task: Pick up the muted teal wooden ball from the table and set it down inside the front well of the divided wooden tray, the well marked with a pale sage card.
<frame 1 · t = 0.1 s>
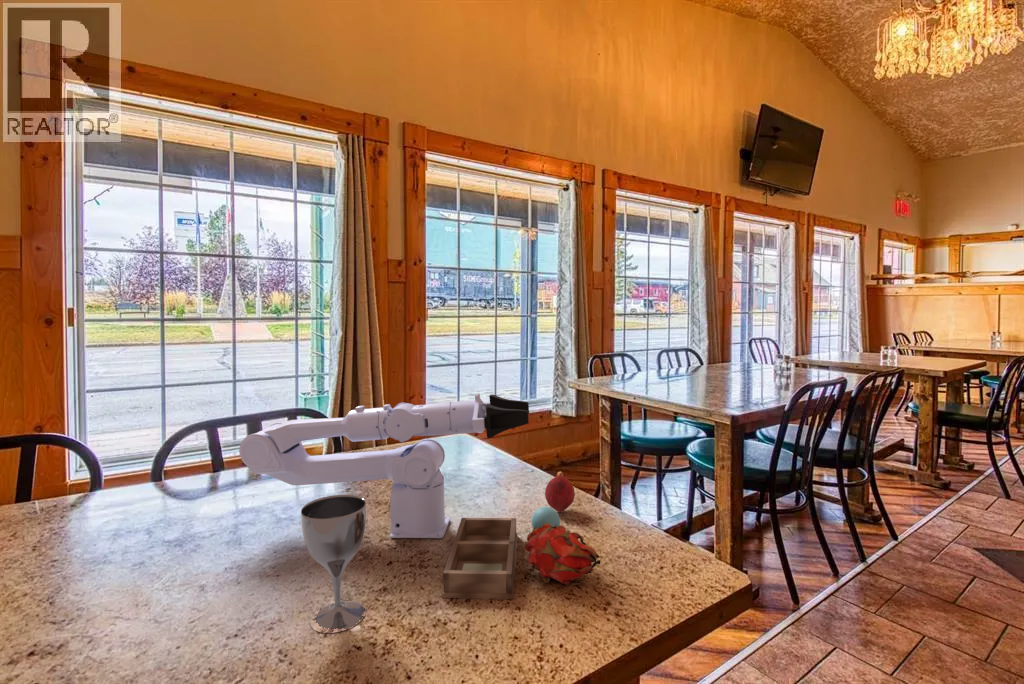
hand: (528, 412, 90), 22 cm above the table, tool horizontal, fingers open, 7 cm apart
dragon fruit: (560, 578, 76), on the table
ball: (545, 521, 90), point 2 cm above the table
divided wooden tray: (484, 563, 80), on the table
wine glass: (338, 617, 67), on the table
onion: (559, 513, 100), on the table
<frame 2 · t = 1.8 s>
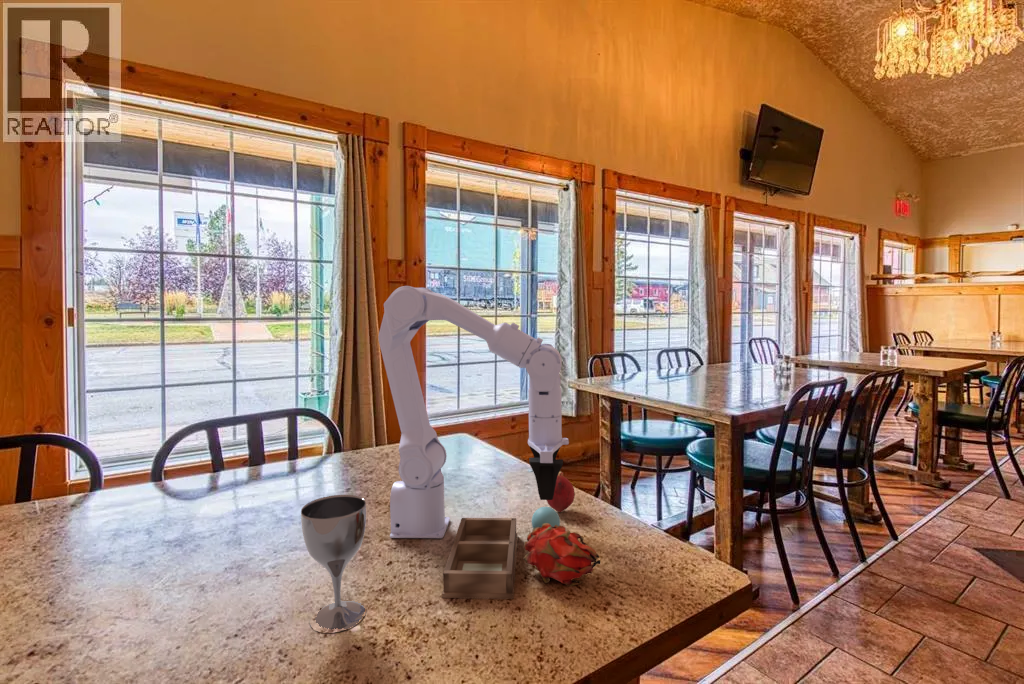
hand: (545, 490, 89), 8 cm above the table, tool pointing down, fingers open, 7 cm apart
nothing on the table moved.
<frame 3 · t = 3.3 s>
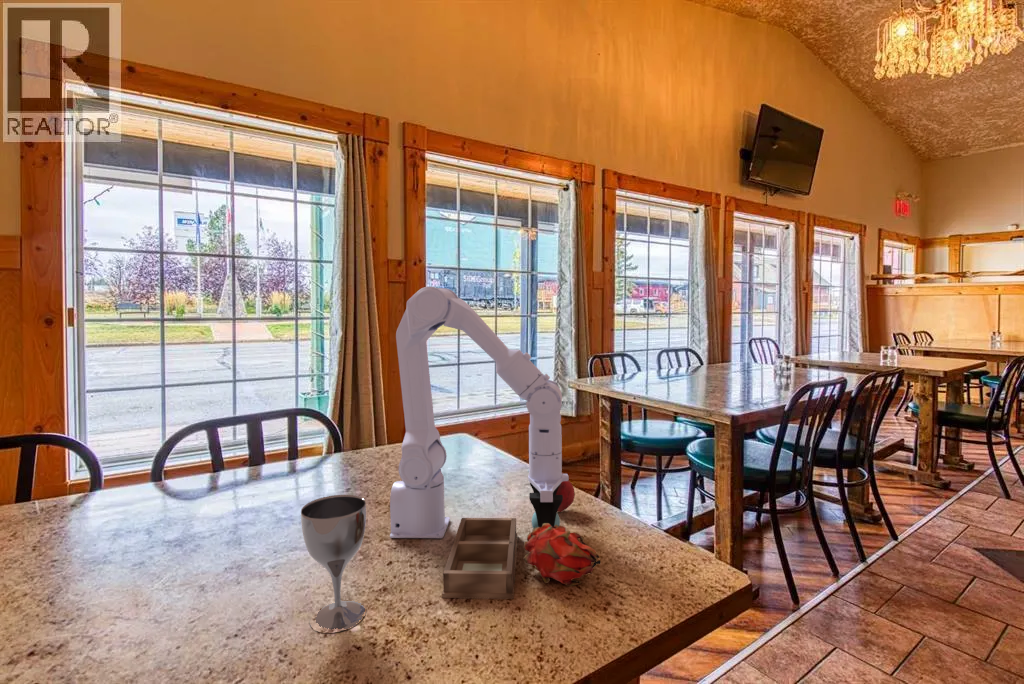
hand: (545, 526, 90), 2 cm above the table, tool pointing down, fingers closed on ball, 5 cm apart
ball: (545, 521, 90), point 2 cm above the table, touching gripper
everything else where it was.
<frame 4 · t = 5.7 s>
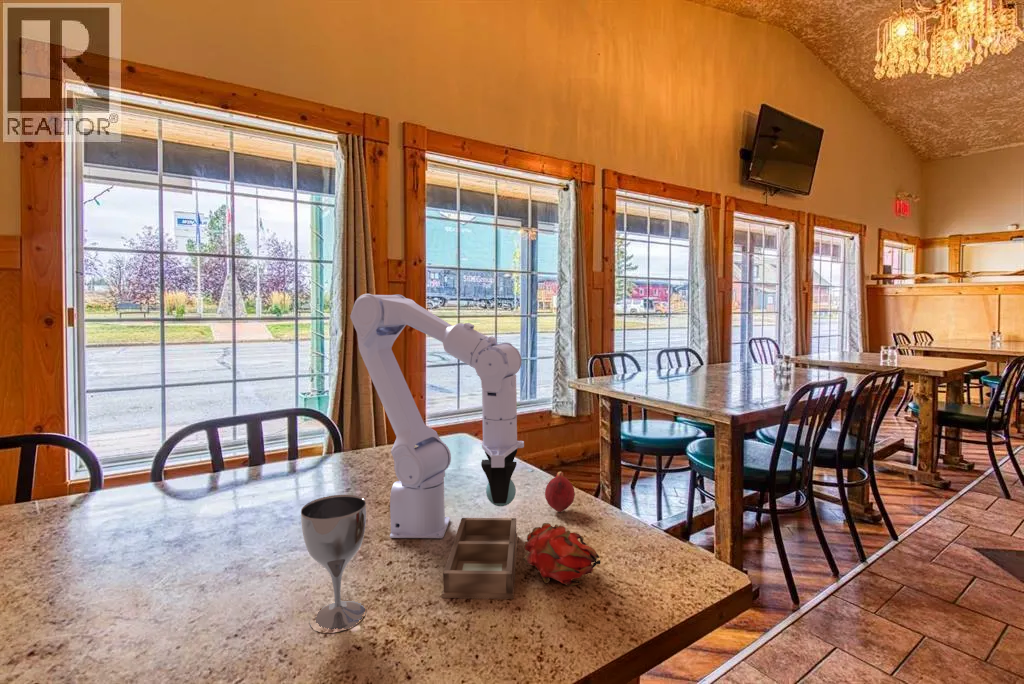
hand: (500, 496, 85), 9 cm above the table, tool pointing down, fingers closed on ball, 5 cm apart
ball: (500, 490, 85), point 10 cm above the table, touching gripper
everything else where it was.
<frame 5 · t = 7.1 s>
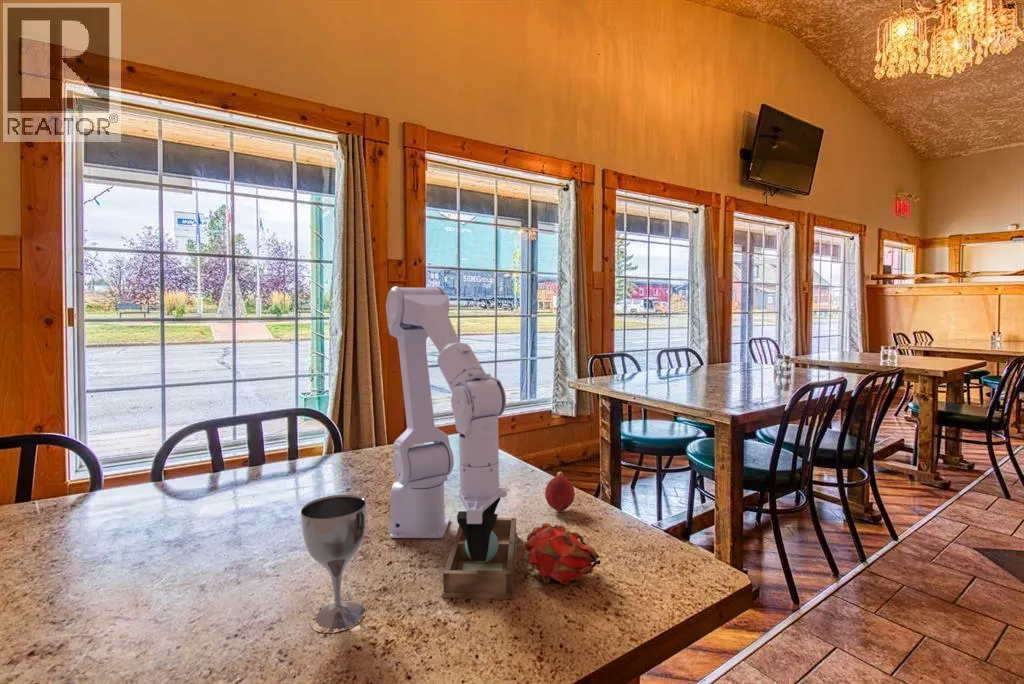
hand: (480, 550, 75), 4 cm above the table, tool pointing down, fingers closed on ball, 5 cm apart
ball: (481, 544, 75), point 5 cm above the table, touching gripper
everything else where it was.
when the fingers open (4 cm above the table, at t = 8.1 s): ball drops 2 cm, resting on divided wooden tray.
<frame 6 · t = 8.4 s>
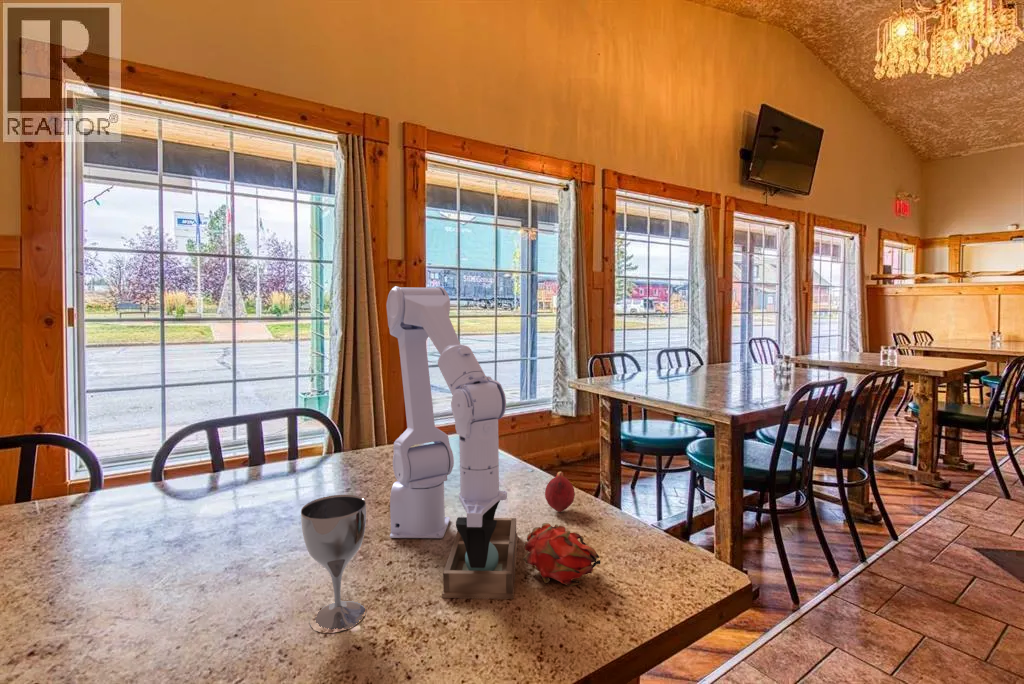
hand: (480, 553, 75), 4 cm above the table, tool pointing down, fingers open, 7 cm apart
ball: (481, 557, 76), point 3 cm above the table, touching divided wooden tray
everything else where it was.
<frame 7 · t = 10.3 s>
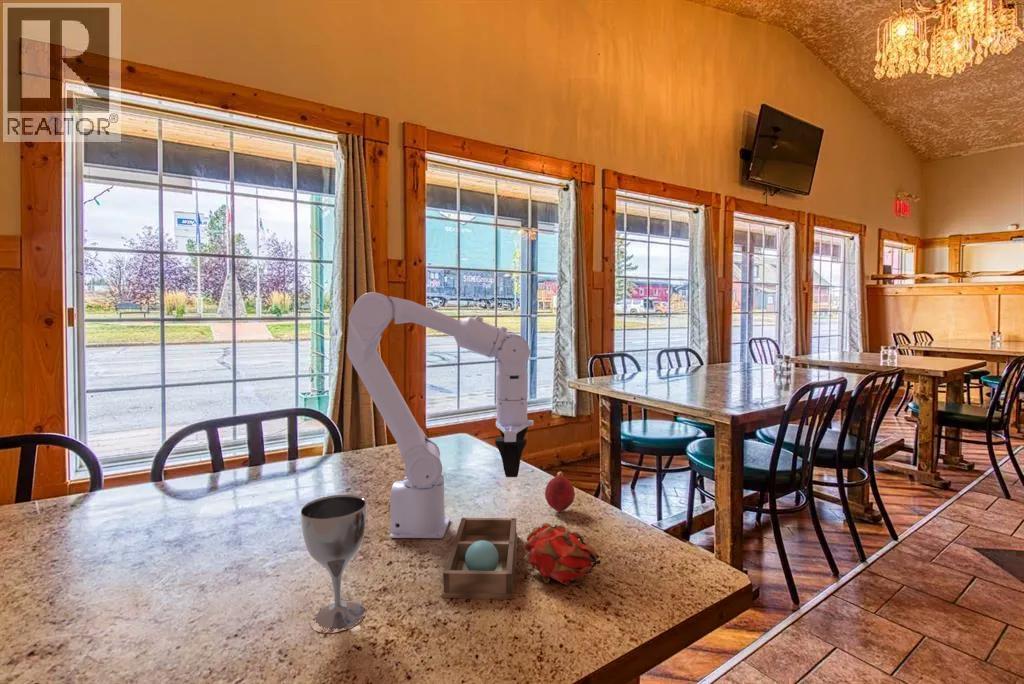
hand: (512, 469, 95), 10 cm above the table, tool pointing down, fingers open, 7 cm apart
nothing on the table moved.
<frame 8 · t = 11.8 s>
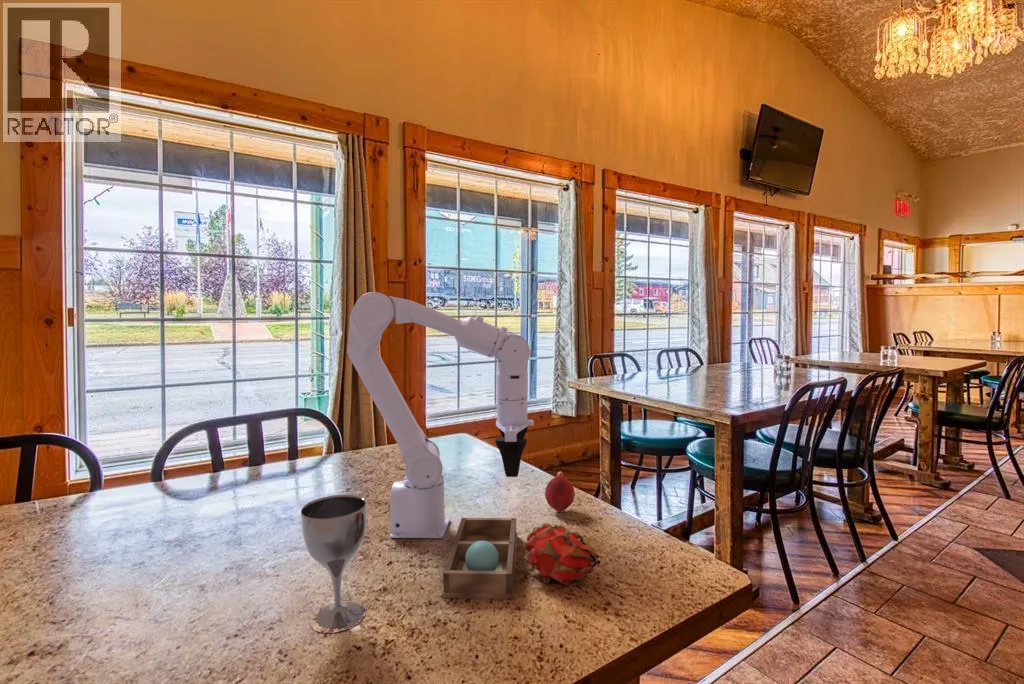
hand: (512, 469, 95), 10 cm above the table, tool pointing down, fingers open, 7 cm apart
nothing on the table moved.
at the end: ball 0.3 cm from the target spot on the divided wooden tray, point 3.2 cm above the divided wooden tray's base; the gripper is holding nothing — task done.
